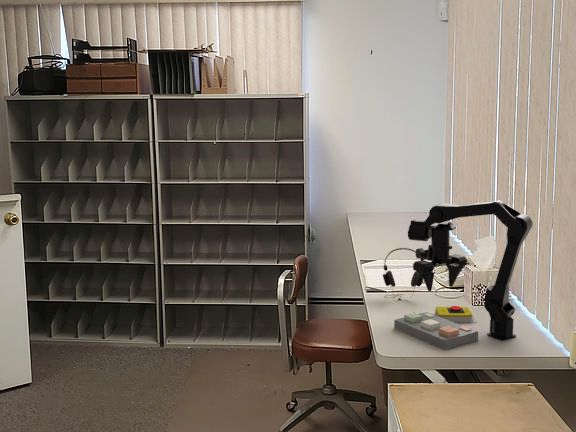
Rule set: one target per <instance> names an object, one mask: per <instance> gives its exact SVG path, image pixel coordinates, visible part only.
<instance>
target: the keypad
mask: <svg viewBox="0 0 576 432" xmlns="http://www.w3.org/2000/svg"><path fill="white" fill-rule="evenodd" d="M418 314H419V315H422V316H423V321H425V320H429V319H432V320H435V321H437V322H440V328H443V327H447V326H451V327H453V328H456V329H458V330H459V335H456V336H453V337H446V336H444V335H441V334H439V328H436V329H433V330H429V329H426V328H424V327H421V321H420V322H416V323H411V322H409V321H406V320H404V317H399V318H396V319H394V323H393V324H394V326H393V327H394V328H393V329H395V330H398V331H400V332H402V333H404V334H406V335H409V336H411V337H414V338H416V339H419V340H421V341H423V342H425V343H427V344H430V345H432V346H435V347H436V348H440V349H442V350H444V351H446V350H450V349H454V348H457V347H461V346H463V345H467V344H471V343H474V342H477V341H479V331H478V330H476V329H473V328H470V327H468V326H466V325H462V324H461V323H454V322H452V321H449V320H446V319H444V318H441V317H438V316H436V315H433V314H431V313H429V312H427V311H425V312H420V313H418Z"/></svg>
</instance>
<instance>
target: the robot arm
mask: <svg viewBox="0 0 576 432" xmlns="http://www.w3.org/2000/svg"><path fill="white" fill-rule="evenodd" d="M428 214H429V215H428V216H427V218H426V219H425V220H417V219H412V220H411V219H410V224H409V225H408V229H407V237H408V239H409V241H417V242H428V241H429V240H430V239H431V242H430V243H431V244H429V245H428V247H427V249H424V248H423V247H421V248H420V247H419V248H416V249H415V251H416V253H415V258H416V259H420V260H417V261H414V263H412V270H413V271H414V272H415V271H417V272H418V273H420V274H421V275H422V277H423V282H424V283H425V284H424V285H425V286H426V288H427V291H428V292H432V289H433V284H434V278H435V272H434V269H435V268H438V267H443V266H446V267H447V269H448V270H447V271H448V286H449V287H450V288H452V287H453V286H454V285H455V282H456V281H457V279H458V276H459V275H460V273H461V272H462V270H463V269H465V266H468V259H467V257H466V256H465V255H461V254H450V250H452V249H453V246H452V245H450V231H453V230H455V229H457V226H456V225H454V224H453V223H452V220H455V219H458V218H468V217H478V216H479V217H480V216H488V215H489V216H490V215H494V216H495V217H497V219H498V220H499V221H500V222H501V224H503V225H504V226H505V227H506V228H507V229H506V247H505V248H504V253H503V256H502V260H501V262H500V266H499V269H498V273H497V275H496V276H497V277H496V279H495V282H494V284H491V285H490V286H489V287H488V288H486V290H485V295H484V298H483V299H482V302H484V304H483V307H484V309H485V310H486V312H488V315H489V317H490V320H489V332H487V333H486V335H487V336H489V337H491V338H495V339H498V340H499V341H506V340H509V339H513V338H516V337H517V335H516V334H514V317H512V316H513V315H514V313H515V311H516V308H515V307H514V305H512V303H510V301H509V300H510V288H509V287H510V283H511V280H512V277H513V272H514V270H515V266H516V263H517V259H518V257H519V254H520V251H521V249H522V245H523V243H524V242H525V240H526V239H527V237H528V235H529V233H530V231H531V229H532V227H533V220H532V219H531V217H530V216H529V215H527V214H525V213H524V214H523V213H522V212H520V211H518V210H517V209H515V208H513V207H511V206H510V205H508V204H507V203H505V202H504V201H503V200H499V199H498V200H497V199H496V200H495V201H485V202H478V203H477V202H476V203H467V204H454V203H448V202H447V203H446V202H444V203H439V204H437V205H434V206H432V207H431V208H430V209H429V213H428ZM449 221H450V222H449ZM445 222H448V223H445ZM435 224H437V225H435Z"/></svg>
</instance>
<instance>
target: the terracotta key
mask: <svg viewBox="0 0 576 432" xmlns="http://www.w3.org/2000/svg"><path fill="white" fill-rule="evenodd" d="M439 334H441V335H444V336H446V337H453V336H456V335H459V330H458V329H456V328H453V327H451V326H447V327H443V328H439Z"/></svg>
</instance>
